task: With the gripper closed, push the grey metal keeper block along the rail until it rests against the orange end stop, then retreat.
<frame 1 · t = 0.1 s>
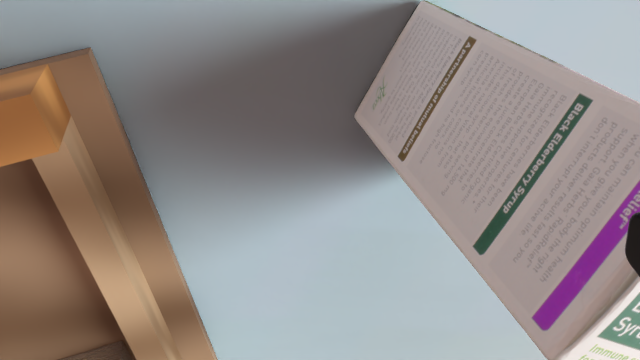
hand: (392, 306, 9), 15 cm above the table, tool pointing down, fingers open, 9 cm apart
rail: (56, 321, 25), on the table
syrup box: (433, 82, 24), on the table
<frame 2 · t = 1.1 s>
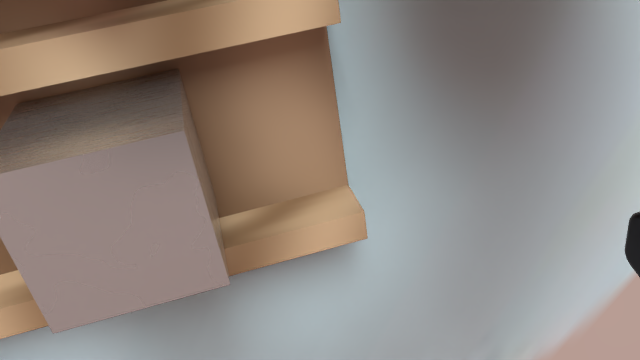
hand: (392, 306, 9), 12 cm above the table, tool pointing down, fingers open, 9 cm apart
rail: (7, 172, 19), on the table
keeper: (120, 191, 17), point 3 cm above the table, slide at 0.0 cm
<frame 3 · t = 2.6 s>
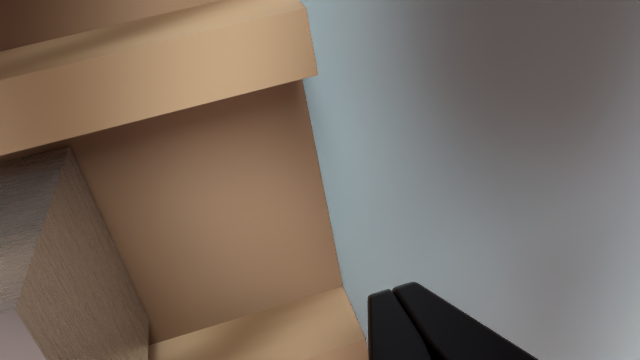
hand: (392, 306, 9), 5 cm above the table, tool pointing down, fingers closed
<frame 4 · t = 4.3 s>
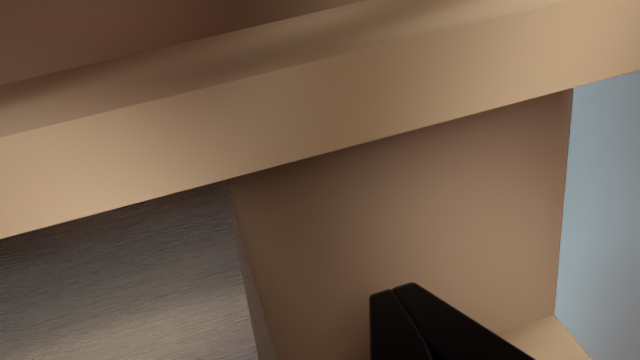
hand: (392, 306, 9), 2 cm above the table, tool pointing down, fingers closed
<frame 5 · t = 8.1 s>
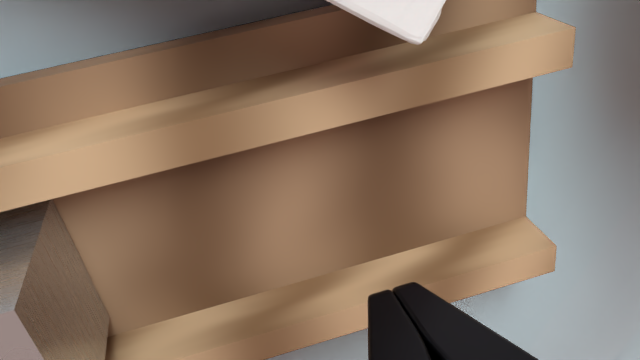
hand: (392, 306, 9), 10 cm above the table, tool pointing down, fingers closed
rail: (212, 211, 19), on the table
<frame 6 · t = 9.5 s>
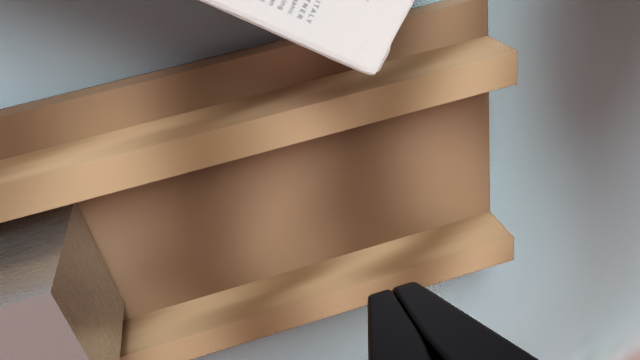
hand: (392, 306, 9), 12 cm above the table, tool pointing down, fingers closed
rail: (212, 211, 22), on the table
keeper: (18, 320, 18), point 3 cm above the table, slide at 10.8 cm
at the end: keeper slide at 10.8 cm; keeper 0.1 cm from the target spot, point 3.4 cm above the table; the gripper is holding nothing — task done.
